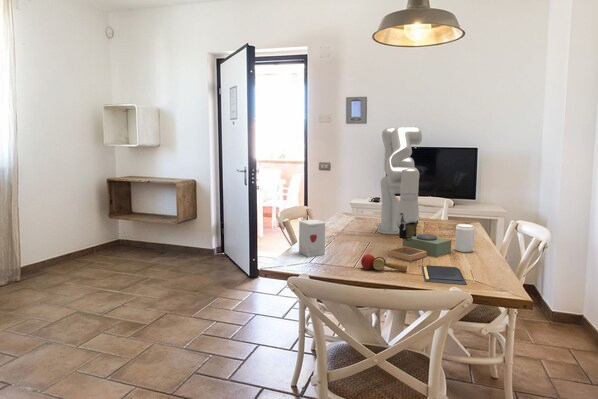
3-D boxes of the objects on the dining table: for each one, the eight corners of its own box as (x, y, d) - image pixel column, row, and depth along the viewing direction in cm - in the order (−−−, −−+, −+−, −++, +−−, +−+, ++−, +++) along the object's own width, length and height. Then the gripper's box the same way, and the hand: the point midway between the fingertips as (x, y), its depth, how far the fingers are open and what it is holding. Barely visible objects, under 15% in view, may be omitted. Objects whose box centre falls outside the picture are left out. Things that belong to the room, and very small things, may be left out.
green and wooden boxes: (382, 254, 188) (382, 239, 187) (417, 245, 205) (417, 231, 204) (416, 263, 174) (417, 247, 173) (450, 252, 192) (451, 237, 191)
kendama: (405, 271, 169) (361, 262, 173) (408, 257, 166) (363, 248, 170) (405, 280, 162) (359, 271, 166) (407, 266, 159) (361, 257, 163)
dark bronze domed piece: (416, 242, 180) (417, 224, 179) (399, 241, 181) (400, 223, 180) (415, 238, 187) (416, 221, 186) (398, 237, 188) (399, 220, 187)
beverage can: (472, 249, 198) (474, 224, 196) (473, 253, 190) (475, 227, 188) (454, 247, 200) (455, 223, 199) (454, 252, 193) (456, 226, 191)
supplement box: (307, 257, 184) (307, 224, 182) (298, 252, 192) (298, 220, 190) (325, 254, 188) (325, 222, 186) (315, 250, 196) (315, 219, 194)
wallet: (467, 282, 148) (422, 278, 152) (467, 287, 148) (422, 283, 152) (460, 265, 167) (421, 263, 171) (460, 270, 168) (421, 267, 171)
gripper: (413, 194, 190) (412, 233, 192) (389, 197, 179) (388, 238, 181) (427, 196, 184) (426, 235, 186) (404, 199, 173) (402, 241, 175)
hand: (407, 236), depth 184 cm, fingers closed on dark bronze domed piece, 6 cm apart
